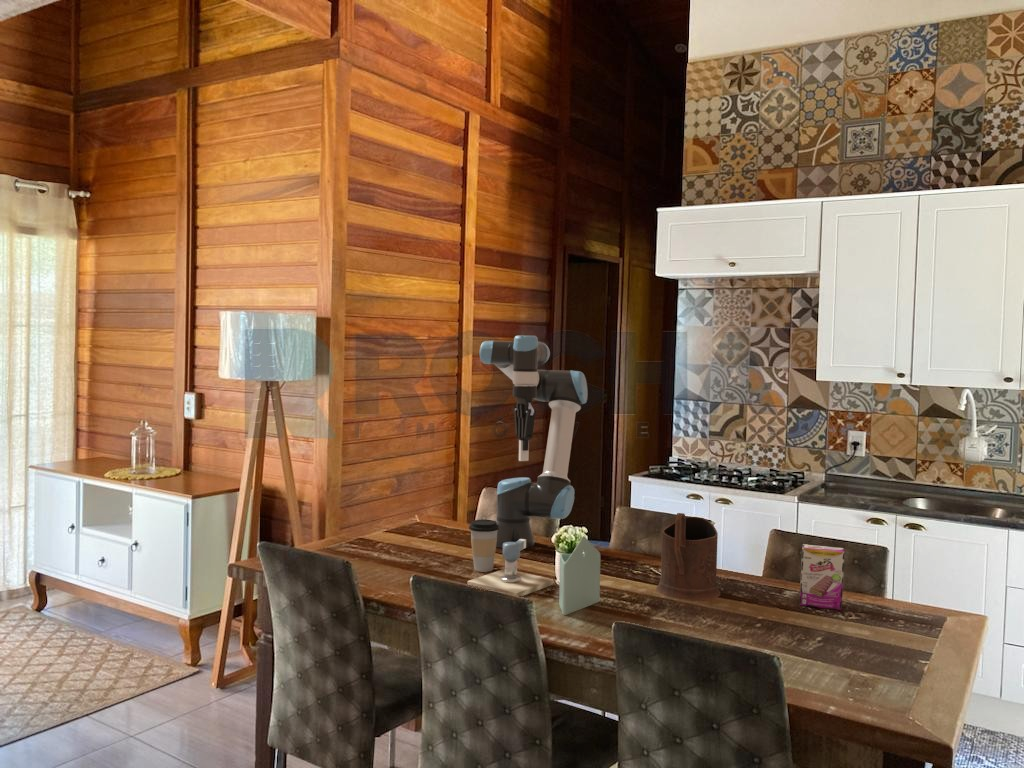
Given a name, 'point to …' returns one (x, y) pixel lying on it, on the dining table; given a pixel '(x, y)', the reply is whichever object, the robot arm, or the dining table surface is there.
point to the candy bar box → (822, 576)
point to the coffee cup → (483, 543)
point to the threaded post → (510, 572)
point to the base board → (521, 588)
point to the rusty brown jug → (689, 559)
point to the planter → (579, 578)
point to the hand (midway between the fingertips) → (523, 460)
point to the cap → (513, 549)
